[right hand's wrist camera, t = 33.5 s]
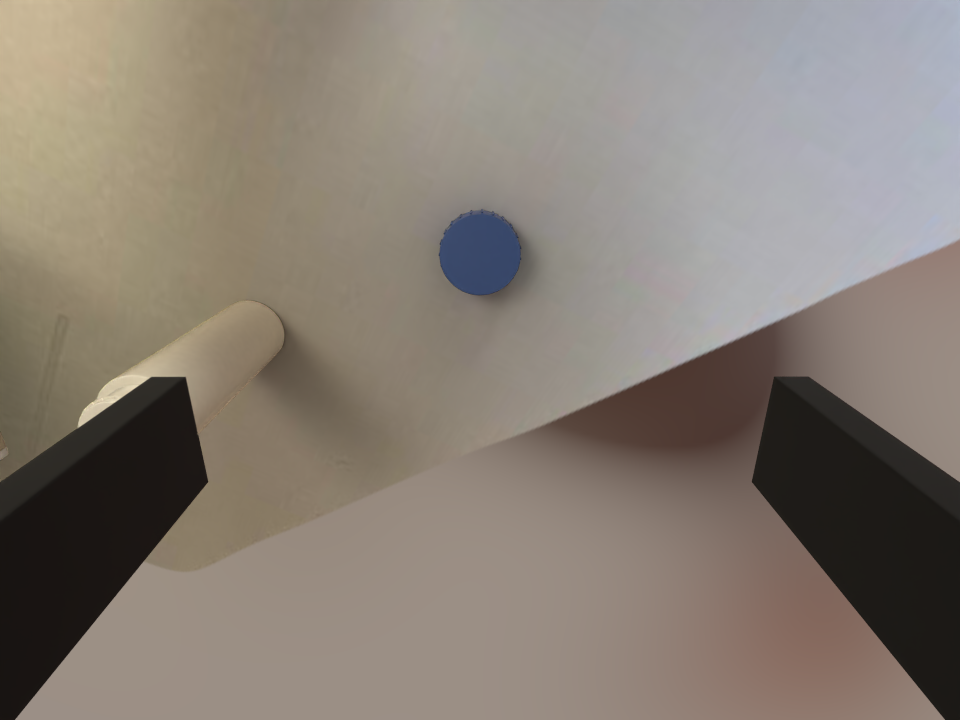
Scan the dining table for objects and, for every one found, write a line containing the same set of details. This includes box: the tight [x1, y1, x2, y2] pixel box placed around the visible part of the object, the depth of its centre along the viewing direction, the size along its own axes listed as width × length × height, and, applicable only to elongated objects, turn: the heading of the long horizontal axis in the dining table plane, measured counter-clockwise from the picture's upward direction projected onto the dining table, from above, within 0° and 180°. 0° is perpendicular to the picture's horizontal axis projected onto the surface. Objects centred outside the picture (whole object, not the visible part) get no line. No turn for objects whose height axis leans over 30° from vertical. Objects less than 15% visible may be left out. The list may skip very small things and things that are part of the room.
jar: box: [78, 300, 284, 434], centre depth 32 cm, size 5×5×15 cm
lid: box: [439, 209, 521, 295], centre depth 36 cm, size 5×5×2 cm
